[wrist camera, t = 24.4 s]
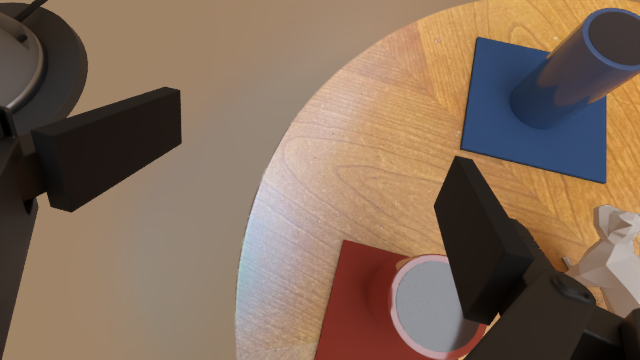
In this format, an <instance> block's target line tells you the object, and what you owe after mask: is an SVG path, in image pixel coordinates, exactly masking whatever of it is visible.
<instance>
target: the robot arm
mask: <svg viewBox="0 0 640 360" xmlns="http://www.w3.org/2000/svg"><path fill="white" fill-rule="evenodd" d="M46 1H48V0H35V1H34V2H32V3H31V4H30V5H29V6H27V7H26V8H25V9H24V10H23V11H21V12H20V13H19V14H18V15H17V16H16V17H14V18H11V17H9V16H7V15H5V14H3V13H1V12H0V360H2V356H3V352H4V348H5V343H6V339H7V335H8V331H9V327H10V323H11V319H12V314H13V310H14V306H15V302H16V298H17V294H18V290H19V286H20V282H21V277H22V273H23V269H24V265H25V261H26V257H27V253H28V249H29V244H30V240H31V236H32V232H33V228H34V224H35V219H36V215H37V211H38V203H37V199H36V197H37V196H39V195H40V194H43V193H45V192H47V195H48V199H49V202H50V206H51V207H53V208H57V209H60V210H64V211H68V212H73V211H75V210H76V209H78V208H79V207H81V206H83V205H84V204H86V203H87V202H89V201H91V200H92V199H94V198H95V197H97V196H99V195H100V194H102V193H103V192H105V191H107V190H108V189H110V188H111V187H113V186H115V185H116V184H118V183H119V182H121V181H123V180H124V179H126V178H127V177H129V176H130V175H132V174H134V173H135V172H137V171H138V170H140V169H142V168H143V167H145V166H146V165H148V164H149V163H151V162H153V161H154V160H156V159H158V158H159V157H161V156H162V155H164V154H165V153H167V152H169V151H170V150H172V149H173V148H175V147H177V146H178V145H180V144H181V143H182V142H181V141H182V140H181V102H180V90H177V89H173V88H168V87H163V88H160V89H156V90H153V91H150V92H147V93H144V94H141V95H138V96H135V97H131V98H128V99H125V100H122V101H119V102H116V103H113V104H109V105H106V106H103V107H100V108H97V109H94V110H91V111H88V112H84V113H81V114H79V115H75V116H72V117H69V118H66V119H63V120H59V121H56V122H53V123H50V124H47V125H44V126H41V127H37V128H34V129H31V130H30V132H29V133H26V134H23V135H20V136H18V134H17V131H16V127H15V124H14V120H13V117H12V115H13V114H15V113H16V112H18V111H19V110H20V109H22V108H23V107H24V106H25V105H26V104H27V103H29V102H30V100H31V99H32V98H33V97H34V96H35V95H36V93H37V92H38V91H39V89H40V88H41V86H42V84H43V82H44V80H45V77H46V74H47V70H48V53H47V50H46V48H45V45H44V44H43V42H42V41H41V40H40V38H39V37H37V36H36V35H35V34H34V33H33V32H32V31H31V30H29V29H28V28H27V27H26V26H24V25H23V24H21V22H22V21H23V20H24V19H25V18H27V17H28V16H29V15H30V14H31V13H32V12H34V11H35V10H36V9H37V8H38V7H40V6H41V5H42V4H44V3H45V2H46ZM434 209H435V213H436V217H437V221H438V224H439V228H440V232H441V235H442V239H443V243H444V246H445V250H446V254H447V257H448V261H449V265H450V268H451V272H452V276H453V279H454V283H455V287H456V291H457V294H458V298H459V302H460V305H461V309H462V313H463V316H464V319H466V320H470V321H474V322H477V323H481V324H485V325H488V326H489V325H490V324H491V322H492V321H493V320H494V318H495V317H496V315H497V314H498V312H499V314H500V318H499V320H498V321H497V322H496V323H495V324H494V325H493V326H492V327H491V329H490V330H489V331H488V332H487V333H486V334H485V335H484V337H483V338H482V339H481V340H480V341H479V342H478V343H477V345H476V346H475V347H474V348H473V349H472V350H471V351H470V353H469V354H468V355H467V356H466V357H465V358H464V359H463V360H640V308H637V309H633V310H632V311H631V312H630V313H629V314H628V315H627V316H626V317H625V318H623V317H620V316H618V315H616V314H614V313H612V312H609V311H607V310H605V309H603V308H600V307H598V306H596V299H595V298H594V296H593V294H592V293H591V292H590V291H589V290H588V289H587V288H586V287H585V286H584V285H583V284H581V283H580V282H578V281H577V280H575V279H574V278H572V277H570V276H568V275H566V274H564V273H562V272H559V271H556V270H555V269H554V268H553V266H552V265H551V263H550V262H549V260H548V259H547V257H546V256H545V254H544V253H543V251H542V250H541V249H539V246H538V244H537V243H536V241H534V238H533V237H532V235H531V234H530V232H529V231H528V230H527V229H526V228H525V227H524V226H523V225H522V224H520V223H519V222H518V221H517V220H515V219H511V218H509V217H508V215H507V214H506V212H505V210H504V209H503V207H502V206H501V204H500V203H499V201H498V199H497V198H496V196H495V195H494V193H493V192H492V190H491V188H490V187H489V185H488V184H487V182H486V180H485V179H484V177H483V176H482V174H481V173H480V171H479V169H478V168H477V166H476V165H475V163H474V161H473V160H472V159H468V158H463V157H459V156H455V157H454V160H453V162H452V164H451V167H450V169H449V171H448V174H447V176H446V178H445V181H444V183H443V185H442V188H441V190H440V192H439V195H438V197H437V199H436V202H435V204H434Z"/></svg>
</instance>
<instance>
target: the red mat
mask: <svg viewBox="0 0 640 360" xmlns="http://www.w3.org/2000/svg"><path fill="white" fill-rule="evenodd" d="M407 258H411V257H407V256H403V255H400V254H396V253H392V252H389V251H385V250H381V249H377V248H374V247H370V246H366V245H363V244H359V243H355V242H351V241H348V240H344V241H343V245H342V249H341V253H340V258H339V262H338V266H337V270H336V274H335V278H334V282H333V286H332V291H331V295H330V299H329V303H328V307H327V311H326V315H325V319H324V323H323V328H322V332H321V336H320V340H319V344H318V348H317V352H316V356H315V360H433V359H429V358H426V357H424V356H422V355H420V354H418V353H416V352H415V351H413V350H412V349H410V348H409V347H408V346H407V345H405V344H404V343H403V342H401V341H400V340H399V339H397V338H396V337H395V336H393V335H392V334H391V333H389V332H388V331H387V330H386V329H384V328H383V327H382V326H380V325H379V324H378V323H377V322H376V321H375V320H374V319H373V317H372V316H371V314H370V312H369V310H368V308H367V305H366V300H365V289H366V285H367V282H368V279H369V277H370V276H371V274H372V273H373V272H374V271H375V270H376V269H377V268H378V267H380V266H381V265H383V264H386V263H389V262H394V261H398V260H402V259H407ZM453 360H458V358H457V359H453Z"/></svg>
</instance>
